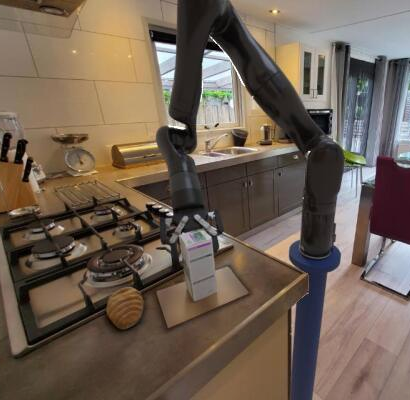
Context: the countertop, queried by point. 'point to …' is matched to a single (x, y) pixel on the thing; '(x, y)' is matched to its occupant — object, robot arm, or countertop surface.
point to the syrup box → (198, 264)
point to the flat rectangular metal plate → (187, 309)
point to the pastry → (125, 307)
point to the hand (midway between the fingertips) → (197, 256)
